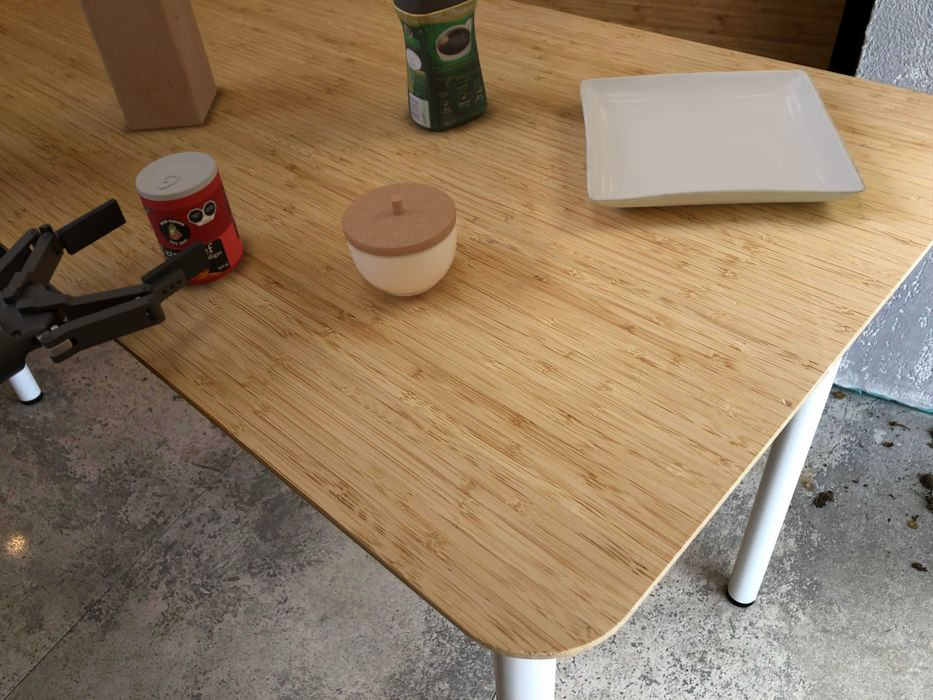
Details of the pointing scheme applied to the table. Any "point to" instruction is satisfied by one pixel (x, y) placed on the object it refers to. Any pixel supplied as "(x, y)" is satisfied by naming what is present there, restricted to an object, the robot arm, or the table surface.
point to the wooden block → (153, 60)
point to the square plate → (713, 140)
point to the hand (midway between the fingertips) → (160, 230)
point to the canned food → (191, 210)
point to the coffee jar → (442, 62)
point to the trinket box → (402, 236)
